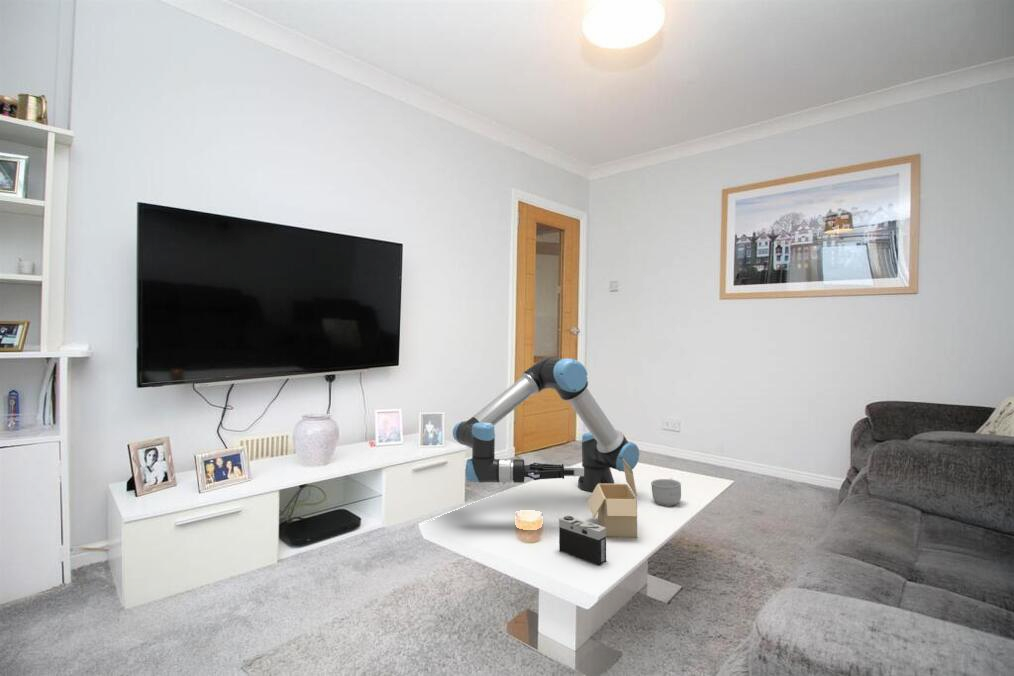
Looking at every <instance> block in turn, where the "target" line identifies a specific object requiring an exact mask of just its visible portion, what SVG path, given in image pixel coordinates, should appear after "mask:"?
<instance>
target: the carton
mask: <svg viewBox="0 0 1014 676" xmlns="http://www.w3.org/2000/svg"><path fill="white" fill-rule="evenodd" d="M587 504H588V507H589V510H590V513H591V515H592V516H591V517H592V518H593V519H595V517H596V516H597V520H598V522H599V525H600V526H603V527H606V538H623V539H625V538H627V539H628V538H629V539H631V538H632V539H633V538H634V539H638V516H639V515H638V499H637V496H636V495H635V494H634V492H633V491H632V489H631V488H630V486H629V485H628V483H615V484H597V486H596V487H595V489H594V491H593V492H591V495H590V496H589V498H588V499H587Z"/></svg>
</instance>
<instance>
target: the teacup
mask: <svg viewBox="0 0 1014 676" xmlns="http://www.w3.org/2000/svg"><path fill="white" fill-rule="evenodd" d="M650 485H651V495H652V499H653V500H654V501H655V502H657V504H659V505H662V506H666V505H667V506H674V505H676V504H677V503H679V502H680V501H681V500H682V483H681V482H680V481H679V480H675V479H673V478H670V477H669V478H659V479H654V480H652V481H651V482H650Z"/></svg>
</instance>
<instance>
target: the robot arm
mask: <svg viewBox="0 0 1014 676" xmlns="http://www.w3.org/2000/svg"><path fill="white" fill-rule="evenodd" d="M587 376H588V372H587V369H586V367H585V365H584V364H583V363H582V362H581V361H579V360H577V359H573V358H570V357H569V358H567V357H566V358H556V357H546V358H544V359H541V360H539V361H538V362H536V363H535V364H533V365H531V366H530V367H529V368H528V369H526V370H525V371H524V372H523V373H521V374H520V378H519V379H517V381H515V382H514V383H513V384H512V385H510V386H509V387H508V388H506V389H505V390H504V391H503V392H501V394H499V395H498V396H496V398H494V399H493V400H492V401H490V402H489V403H488V404H487V405H486V406H483V408H482V409H480V410H479V411H478V412H477V413H476V414H474V415H473V416H471V418H469V419H468V420H466V421H461V422H460V421H459V422H458V423H456V424H455V425H454V427H453V429H452V437H453V439H454V440H455V441H456V442H458V443H459V444H460V445H464V446H466V447H469V448H471V451H472V453H471V458H469V459H467V460H466V462H465V478H466V480H467V481H468V482H471V483H479V484H480V483H502V484H503V485H505V484H506V483H512V482H513V483H514V484H515V483H516V484H517V483H519V484H521V483H522V484H523V483H525V478H529V479H532V480H533V481H540V480H549V479H550V480H551V479H562V480H564V479H565V477H578V481H577V487H578V488H579V489H580V490H583V491H585V492H591V493H593V491H594V489H595V487H596V486H597V484H616V483H615V480H614V477H613V474H612V470H611V469H614V470H616V471H618V472H622V473H623V472H624V473H625V471H624V466H623V461H622V459H624V460H625V462H626V463H627V464H628V466H629V467H630V468H631V469H632V470H634V469H635V467H636V466H637V464H638V462H639V458H640V449H639V447H638V445H637V444H636V443H634V442H632V441H628V440H627V438H626V436H625V435H624V433H623V432H622V431H621V430H617V429H615V428H614V425H613V424H612V422H611V421H610V419H609V418H608V417H607V415H606V414H605V412H604V411H603V410H602V408H601V406H600V405H599V403H598V402H597V401H596V399H595V397H594V396H593V395H592V393H591V391H590V390H589V389H588V386H589V382H588V377H587ZM545 389H552V390H555V391H556V393H557V394H558V395H559V397H560V398H561V399H562V400H563V401H565V402H568V403H569V404H570V406H571V407H572V408H573V410H574V412H576V414H577V415H578V417H579V418H580V420H581V421H582V422H583V424H584V426H585V427H586V428H587V430H588V431H589V432H585V433H583V434H582V437H581V463H582V464H581V466H564V465H565V464H564V463H561V464H554V463H553V464H552V463H539V462H533V463H529V464H525V460H524V459H521V458H519V459H517V458H515V459H513V460H512V459H511V458H505V459H504V458H503V459H501V458H498V459H497V458H495V456H496V454H495V452H496V451H495V447H496V445H495V444H496V443H495V442H496V434H495V432H496V431H495V425H496V424H498V423H499V422H500V421H502V420H503V419H504V418H505V417H507V416H508V415H509V414H510V413H512V412H513V411H514V410H515V409H517V407H519V406H520V405H521V404H522V403H524V402H525V401H526V400H527V399H528V398H530V397H531V396H532V395H538V394H539V393H540V392H541V391H543V390H545Z"/></svg>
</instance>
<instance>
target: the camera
mask: <svg viewBox="0 0 1014 676" xmlns="http://www.w3.org/2000/svg"><path fill="white" fill-rule="evenodd" d="M558 534H559V535H558V543H559V545H558V547H559V552H561V553H564V554H566V555H570V556H571V557H575V558H577V559H580V560H583V561H585V562H588V563H591V564H593V565H596V566H598V567H599V566H601V565H603V564H604V563H606V562H607V537H606V527H603V526H601V525H600V524H596V523H593V522H591V521H587V520H583V519H580V518H577V517H574V516H572V515H564V516H562V517H560V518H559V519H558Z"/></svg>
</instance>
